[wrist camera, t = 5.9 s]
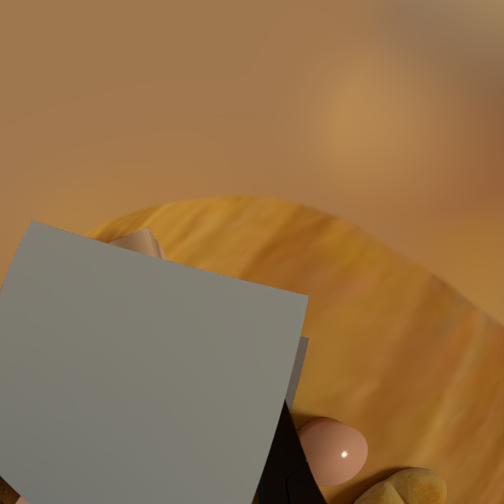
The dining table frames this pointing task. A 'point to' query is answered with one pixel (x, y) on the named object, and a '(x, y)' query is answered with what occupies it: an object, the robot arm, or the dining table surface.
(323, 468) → the pink rounded pebble
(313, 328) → the dining table surface
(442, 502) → the bread roll
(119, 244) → the beech cube
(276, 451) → the robot arm
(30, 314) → the tall block
